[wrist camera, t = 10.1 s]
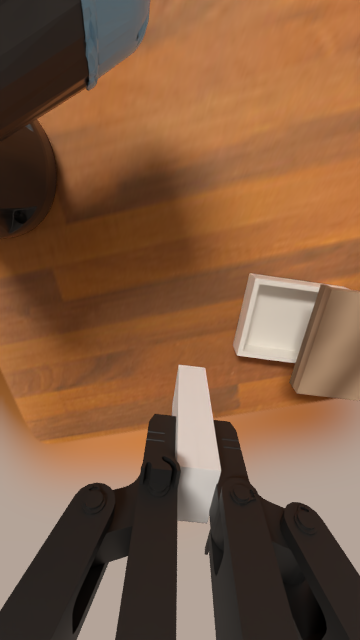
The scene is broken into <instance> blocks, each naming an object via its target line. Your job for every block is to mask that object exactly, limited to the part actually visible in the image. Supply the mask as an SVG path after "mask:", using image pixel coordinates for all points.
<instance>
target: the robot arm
mask: <svg viewBox="0 0 360 640" xmlns="http://www.w3.org/2000/svg"><path fill="white" fill-rule="evenodd" d="M149 6H150V0H0V238H9V237H15V236H19V235H22V234H24V233H27V232H28V231H30V230H32V229H33V228H35V227H36V226H37V225H38V224H39V223H40V222H41V221H42V220H43V219H44V217H45V216H46V215H47V213H48V211H49V209H50V207H51V205H52V202H53V199H54V196H55V191H56V179H57V175H56V165H55V159H54V155H53V151H52V148H51V145H50V143H49V140H48V138H47V136H46V134H45V132H44V130H43V128H42V127H41V125H40V123H39V122H38V120H37V119H38V118H39V117H41V116H43V115H44V114H46V113H47V112H49V111H50V110H52V109H54V108H55V107H57V106H58V105H60V104H62V103H63V102H65V101H66V100H68V99H69V98H71V97H73V96H74V95H76V94H77V93H79V92H81V91H82V90H84V89H85V88H86V89H87V90H88V91H89V90H91V89H92V88H94V87H95V85H96V84H97V79H98V78H100V77H101V76H102V75H104V74H105V73H107V72H108V71H109V70H111V69H112V68H113V67H115V66H116V65H117V64H119V63H120V62H121V61H123V60H124V59H126V58H127V57H128V56H130V55H131V54H132V53H133V52H135V50H136V49H137V48H138V47H139V45H140V44H141V42H142V40H143V38H144V35H145V32H146V28H147V24H148V20H149ZM209 516H210V526H211V529H210V532H209V536H208V539H207V543H206V547H205V554H206V555H207V554H208V552H209V556H210V568H211V579H212V580H211V581H212V593H213V605H214V617H215V630H216V640H360V576H359V574H358V572H357V571H356V570H355V568H354V567H353V565H352V564H351V562H350V560H349V559H348V558H347V556H346V554H345V553H344V551H343V550H342V549H341V547H340V545H339V544H338V543H337V541H336V540H335V538H334V537H333V535H332V534H331V532H330V531H329V529H328V528H327V526H326V525H325V523H324V522H323V520H322V519H321V518H320V516H319V515H318V514H317V513H316V512H315V511H314V510H312V509H311V508H310V507H309V506H307V505H304V504H302V503H298V502H292V503H290V504H288V505H287V506H286V508H283V507H280V506H278V505H275V504H273V503H271V502H269V501H267V500H265V499H263V498H262V497H261V496H259V495H258V493H257V491H256V489H255V488H254V487H253V486H252V485H251V484H250V482H249V479H248V475H247V471H246V467H245V463H244V460H243V456H242V452H241V450H240V444H239V442H238V437H237V432H236V430H235V428H234V427H233V426H232V424H231V423H230V422H227V421H218V420H213V415H212V409H211V403H210V396H209V390H208V383H207V377H206V371H205V368H202V367H194V366H186V365H179V367H178V373H177V379H176V386H175V392H174V398H173V406H172V416H169V415H160V414H155V415H154V416H153V417H152V418H151V420H150V421H149V426H148V433H147V440H146V446H145V452H144V459H143V464H142V466H141V473H140V475H139V477H138V479H137V480H136V481H135V482H134V483H132V484H130V485H129V486H126V487H123V488H119V489H115V490H112V489H111V488H110V487H109V486H107V485H105V484H102V483H93V484H88V485H87V486H85V487H83V488H81V489H80V491H79V492H78V493H77V494H76V495H75V496H74V498H73V499H72V501H71V502H70V504H69V505H68V507H67V508H66V510H65V512H64V513H63V515H62V516H61V518H60V519H59V521H58V522H57V524H56V525H55V527H54V529H53V530H52V532H51V533H50V535H49V536H48V538H47V539H46V541H45V543H44V544H43V546H42V547H41V549H40V550H39V552H38V554H37V555H36V556H35V558H34V560H33V561H32V563H31V564H30V566H29V567H28V569H27V570H26V572H25V574H24V575H23V576H22V578H21V580H20V581H19V583H18V584H17V586H16V587H15V589H14V590H13V592H12V594H11V595H10V597H9V598H8V600H7V601H6V603H5V604H4V606H3V608H2V609H1V611H0V640H77V637H78V635H79V633H80V630H81V628H82V625H83V623H84V621H85V618H86V616H87V613H88V611H89V609H90V606H91V604H92V601H93V599H94V596H95V594H96V592H97V589H98V587H99V585H100V582H101V580H102V577H103V575H104V572H105V570H106V568H107V565H108V563H109V562H111V561H113V560H117V559H120V558H123V557H126V556H128V560H127V566H126V573H125V580H124V586H123V593H122V599H121V606H120V612H119V619H118V625H117V632H116V638H115V640H176V596H177V594H176V593H177V520H178V521H188V522H198V523H207V522H208V517H209Z"/></svg>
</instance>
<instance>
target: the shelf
mask: <svg viewBox="0 0 360 640" xmlns="http://www.w3.org/2000/svg"><path fill="white" fill-rule="evenodd" d="M290 384H291V385H292V387H293V388H294V390H295V392H296V393H298V394H307V395H315V396H323V397H332V398H340V399H349V400H357V401H360V291H357V290H349V289H342V288H335V287H330V286H328V285H324V284H321V285H320V289H319V292H318V295H317V298H316V301H315V304H314V307H313V310H312V313H311V317H310V320H309V323H308V326H307V329H306V332H305V335H304V338H303V341H302V344H301V348H300V351H299V354H298V357H297V360H296V363H295V366H294V369H293V372H292V376H291V379H290Z"/></svg>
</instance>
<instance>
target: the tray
mask: <svg viewBox="0 0 360 640" xmlns="http://www.w3.org/2000/svg"><path fill="white" fill-rule="evenodd" d="M321 284H322V283H315V282H308V281H301V280H294V279H287V278H280V277H273V276H266V275H259V274H252V273H250V274H249V278H248V282H247V286H246V291H245V295H244V299H243V304H242V308H241V312H240V317H239V321H238V325H237V329H236V334H235V338H234V342H233V347H234V349H235V352H236V354H237V356H244V357H252V358H259V359H267V360H275V361H282V362H290V363H296V360H297V357H298V354H299V351H300V348H301V344H302V341H303V338H304V335H305V332H306V329H307V326H308V323H309V320H310V317H311V313H312V310H313V307H314V304H315V301H316V298H317V295H318V292H319V289H320V285H321ZM324 285H328V286H330V287H335V288H342V289H348V288H345V287H342V286H335V285H329V284H324ZM349 290H350V289H349Z"/></svg>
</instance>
